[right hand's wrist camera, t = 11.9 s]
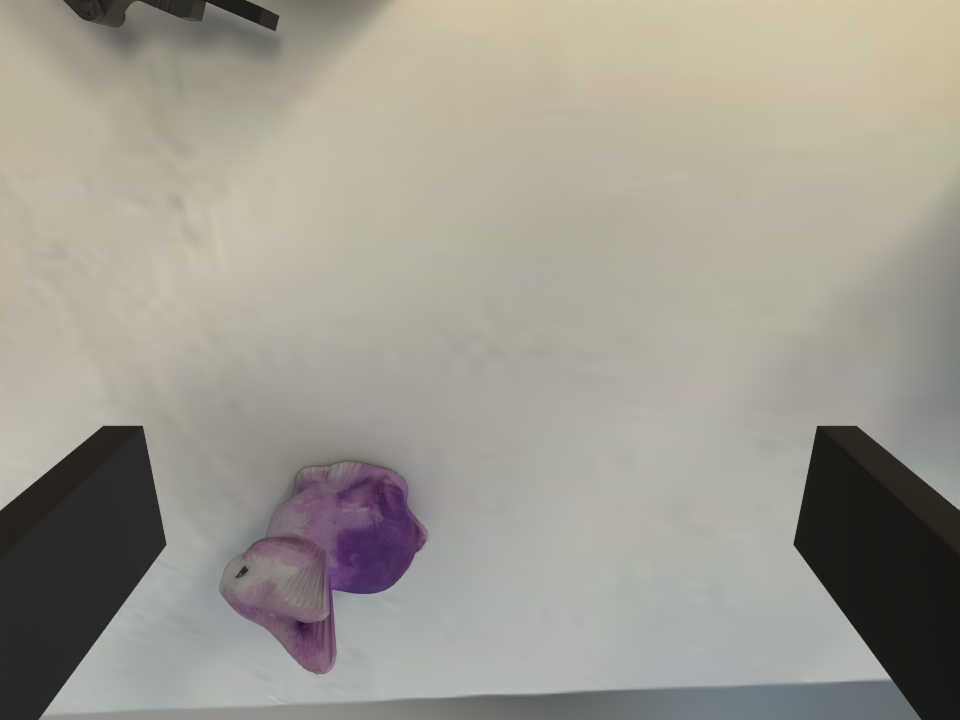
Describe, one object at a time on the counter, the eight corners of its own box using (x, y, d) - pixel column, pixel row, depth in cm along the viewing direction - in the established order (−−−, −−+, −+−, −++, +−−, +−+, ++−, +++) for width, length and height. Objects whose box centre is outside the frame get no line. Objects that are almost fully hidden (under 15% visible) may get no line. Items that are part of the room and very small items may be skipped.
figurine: (258, 483, 49) (167, 631, 35) (377, 429, 47) (332, 561, 33) (323, 576, 52) (264, 747, 38) (438, 528, 50) (420, 688, 36)
